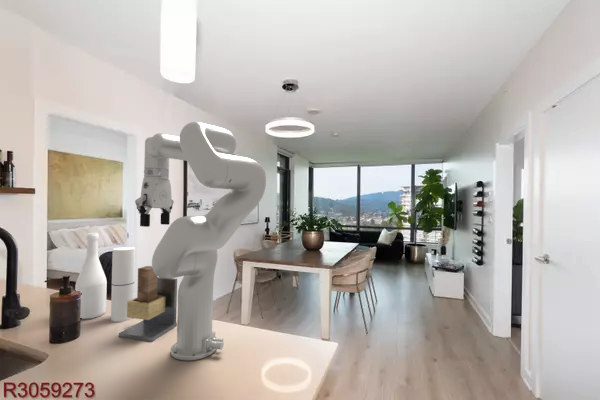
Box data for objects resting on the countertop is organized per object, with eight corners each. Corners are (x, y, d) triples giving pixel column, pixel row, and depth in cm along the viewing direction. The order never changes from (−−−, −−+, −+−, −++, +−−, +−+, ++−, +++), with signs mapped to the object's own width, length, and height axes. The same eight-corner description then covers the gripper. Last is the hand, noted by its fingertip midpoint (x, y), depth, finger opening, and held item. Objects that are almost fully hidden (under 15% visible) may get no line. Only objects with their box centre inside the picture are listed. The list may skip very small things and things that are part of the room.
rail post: (156, 309, 99) (157, 266, 99) (147, 313, 95) (148, 269, 95) (146, 308, 100) (147, 265, 100) (136, 312, 96) (138, 268, 96)
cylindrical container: (115, 323, 104) (117, 250, 104) (107, 318, 108) (109, 248, 108) (137, 317, 110) (139, 248, 110) (128, 312, 114) (130, 246, 114)
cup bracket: (176, 326, 103) (177, 278, 103) (152, 341, 91) (153, 288, 91) (146, 322, 106) (147, 275, 106) (118, 336, 94) (120, 284, 94)
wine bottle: (112, 312, 114) (114, 233, 114) (87, 321, 105) (89, 235, 105) (93, 309, 117) (95, 231, 117) (68, 317, 108) (70, 234, 108)
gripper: (147, 172, 93) (146, 227, 92) (182, 176, 109) (180, 224, 109) (127, 172, 94) (125, 226, 94) (163, 176, 111) (162, 223, 111)
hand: (155, 225), depth 102 cm, fingers open, 9 cm apart
